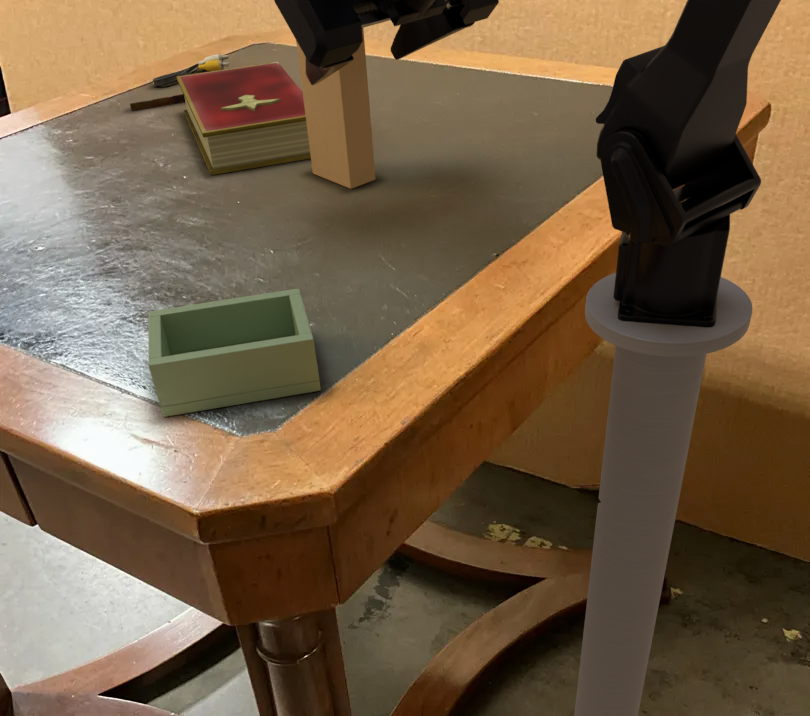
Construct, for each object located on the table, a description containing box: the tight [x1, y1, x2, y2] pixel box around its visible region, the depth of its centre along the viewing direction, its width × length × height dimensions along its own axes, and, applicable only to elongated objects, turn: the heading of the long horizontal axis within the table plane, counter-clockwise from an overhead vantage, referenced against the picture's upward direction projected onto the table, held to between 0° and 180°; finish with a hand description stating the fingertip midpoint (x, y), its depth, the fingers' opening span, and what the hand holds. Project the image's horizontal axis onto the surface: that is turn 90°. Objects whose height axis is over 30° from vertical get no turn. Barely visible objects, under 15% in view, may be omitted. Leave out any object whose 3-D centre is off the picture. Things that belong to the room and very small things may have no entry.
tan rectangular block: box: [295, 28, 376, 190], centre depth 81 cm, size 3×6×13 cm, turn 41°
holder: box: [147, 287, 322, 418], centre depth 58 cm, size 7×10×4 cm
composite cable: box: [152, 53, 230, 87], centre depth 113 cm, size 10×5×2 cm, turn 106°
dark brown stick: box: [129, 93, 186, 112], centre depth 106 cm, size 15×1×1 cm, turn 112°
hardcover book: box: [177, 61, 311, 176], centre depth 95 cm, size 12×21×4 cm, turn 18°
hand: (353, 66), depth 77 cm, fingers open, 9 cm apart
